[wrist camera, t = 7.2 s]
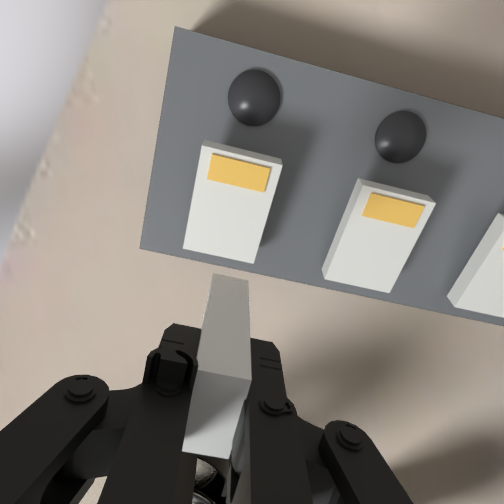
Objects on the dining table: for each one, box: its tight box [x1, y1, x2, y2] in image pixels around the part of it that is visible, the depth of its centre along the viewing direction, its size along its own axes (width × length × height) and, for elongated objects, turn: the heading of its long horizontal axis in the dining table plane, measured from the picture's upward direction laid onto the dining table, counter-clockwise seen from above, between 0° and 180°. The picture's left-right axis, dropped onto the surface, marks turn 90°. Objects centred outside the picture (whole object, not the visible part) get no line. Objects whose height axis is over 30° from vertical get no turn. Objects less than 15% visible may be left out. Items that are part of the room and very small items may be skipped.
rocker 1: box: [183, 140, 283, 264], centre depth 23 cm, size 4×6×1 cm
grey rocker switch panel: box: [139, 26, 504, 326], centre depth 26 cm, size 28×13×4 cm, turn 76°
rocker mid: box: [322, 178, 436, 293], centre depth 24 cm, size 4×6×1 cm
